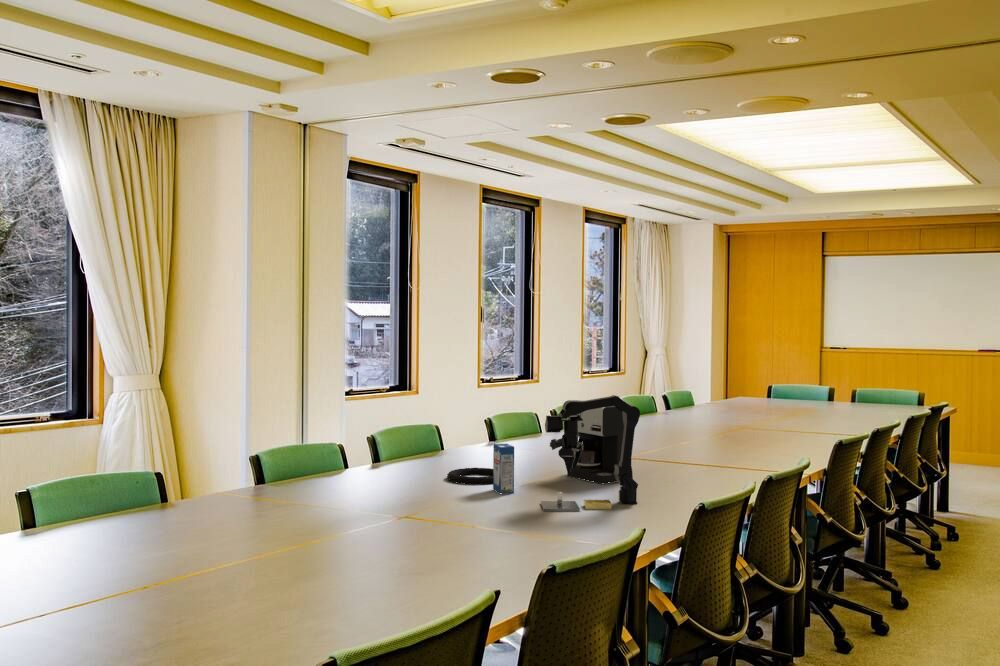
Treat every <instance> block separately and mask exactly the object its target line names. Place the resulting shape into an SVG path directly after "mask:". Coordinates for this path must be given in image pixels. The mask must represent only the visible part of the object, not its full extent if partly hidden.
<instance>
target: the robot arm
mask: <svg viewBox="0 0 1000 666" xmlns="http://www.w3.org/2000/svg"><path fill="white" fill-rule="evenodd" d="M609 406H615V407H616V408H617V409H619V410H620V411H621V412H622V416H623V423H624V432H623V441H622V449H621V458H620V462H619V464H618V465H616V464H615V471H614V473H613V474H614V475H615V478H616V480H617V481H618V482H617V483H619V486H620V487H619V490H618V501H619V502H620V504H624V505H629V504H631V505H637V504H638V501H637V494H638V493H637V491H638V490H637V489H638V487H639V483H638V482H636V480H634V478H633V477H634V476H633V468H632V455H633V447H634V438H635V429H636V427H637V426H638V424H639V423H638V422H639V420H640V417H641V410H640V409H639V408H638V407H637V406H634V405H632V404H629V403H627V402H626V401H625V400H623V399H622V398H621V397H620V396H617V395H614V394H612V395H610V396H604V397H598V398H593V399H587V400H575V399H573V400H571V399H569V400H566V401H564V403H562V408H561V410H560V411H559V412H558V414H557V415H546V416H545V423H544V430H545V433H546V434H547V433H549V434H550V433H552V434H553V433H561V431H563V434H562V436H561V438H558V439H557V438H553V439H551V440H550V442H549V447H551V450H552V451H553V450H555V449H558V448H560V449H559V450H558V456H559V458H561V459H562V460H563V462H564V464H565V468H566V472H568V473H570V472H571V469H572V467H573V468H574V469H575V468H576V466H577V463H578V461H579V458H580V456H581V453H582V450H583V444H582V443H580V442H578V441H579V434H578V421H583V419H582V418H581V417H580V416H579V415H578V414H580V413H582V412H584V411H587V410H591V409H597V408H603V407H609ZM574 415H577V416H574ZM570 416H574V417H570ZM568 417H569V418H568ZM579 449H581V450H579Z"/></svg>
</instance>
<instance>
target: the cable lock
mask: <svg viewBox="0 0 1000 666" xmlns="http://www.w3.org/2000/svg"><path fill="white" fill-rule="evenodd" d="M470 474H473V475H472V476H471V475H470ZM474 474H479V475H478V476H475V475H474ZM446 475H447V476H446V478H447V480H448V481H449V482H451V481H452V482H451V483H455V482H457V483H456V484H461V483H465V484H464V485H474V484H480V485H491V484H490V483H493V468H489V467H488V468H487V467H465V468H457V469H454V470H450V471H449V472H448V473H447V474H446ZM460 475H464V476H460ZM488 475H492V476H488Z"/></svg>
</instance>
